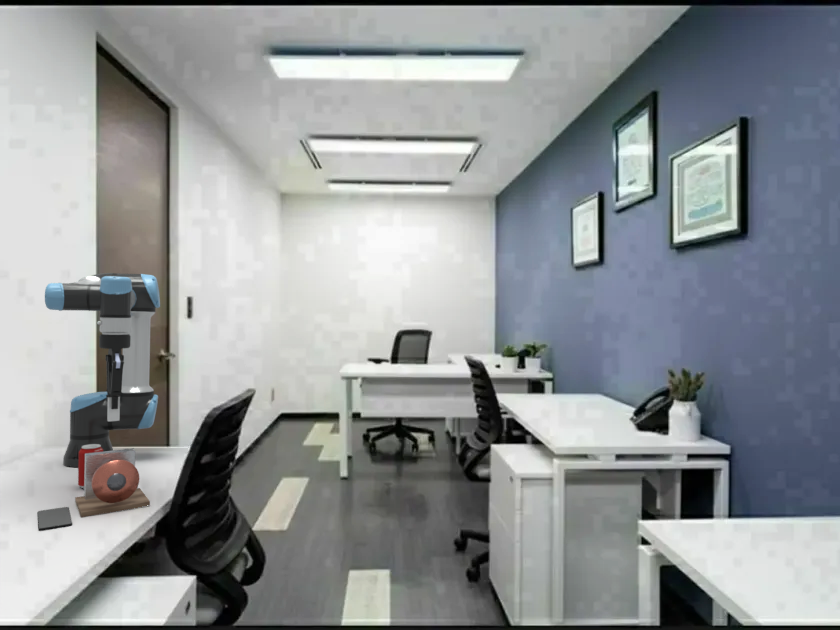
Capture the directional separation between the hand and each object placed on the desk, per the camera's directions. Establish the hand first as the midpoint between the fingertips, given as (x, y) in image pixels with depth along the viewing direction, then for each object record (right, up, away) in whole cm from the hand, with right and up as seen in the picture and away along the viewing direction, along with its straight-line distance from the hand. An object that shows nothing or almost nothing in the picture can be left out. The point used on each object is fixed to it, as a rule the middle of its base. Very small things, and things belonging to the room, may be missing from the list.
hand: (113, 420), depth 156 cm
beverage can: (-14, -22, +14) cm, 30 cm away
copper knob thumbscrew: (-1, -20, 0) cm, 20 cm away
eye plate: (-3, -22, +3) cm, 23 cm away
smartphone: (-8, -23, -12) cm, 27 cm away
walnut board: (0, -22, -1) cm, 22 cm away
